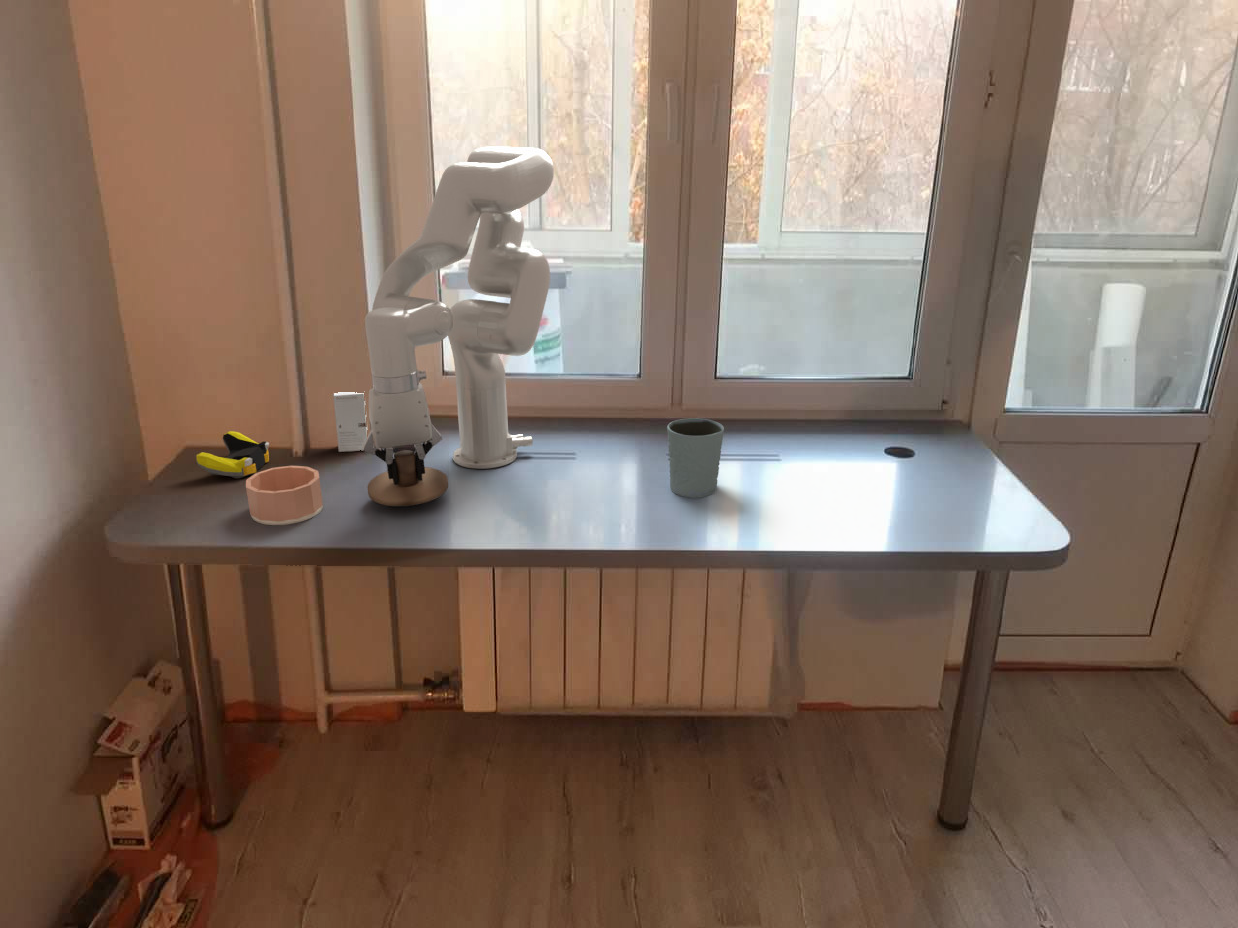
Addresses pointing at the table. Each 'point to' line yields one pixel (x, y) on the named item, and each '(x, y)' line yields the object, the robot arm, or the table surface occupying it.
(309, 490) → the bowl
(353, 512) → the table surface
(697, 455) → the grey green cup
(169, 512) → the table surface
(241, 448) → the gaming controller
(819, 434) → the table surface
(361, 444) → the skincare box
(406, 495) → the lid
